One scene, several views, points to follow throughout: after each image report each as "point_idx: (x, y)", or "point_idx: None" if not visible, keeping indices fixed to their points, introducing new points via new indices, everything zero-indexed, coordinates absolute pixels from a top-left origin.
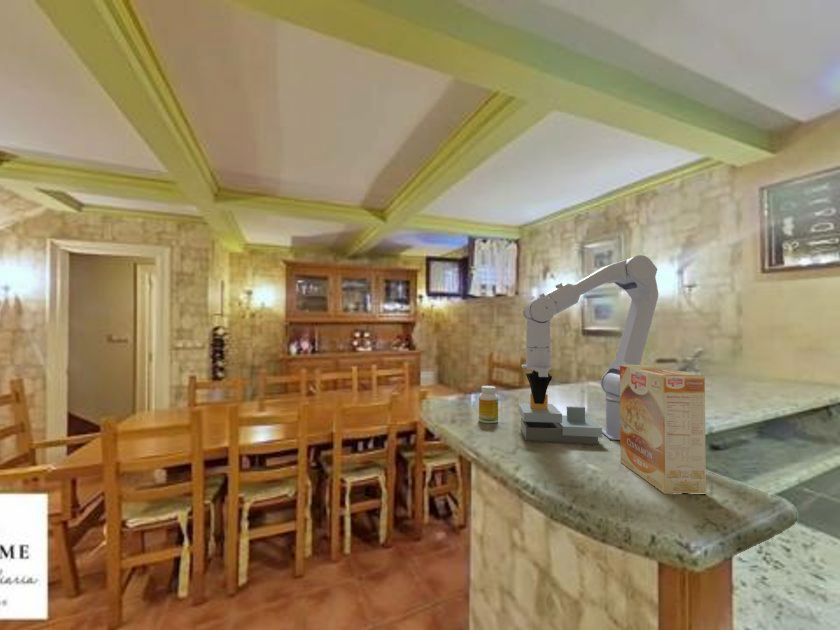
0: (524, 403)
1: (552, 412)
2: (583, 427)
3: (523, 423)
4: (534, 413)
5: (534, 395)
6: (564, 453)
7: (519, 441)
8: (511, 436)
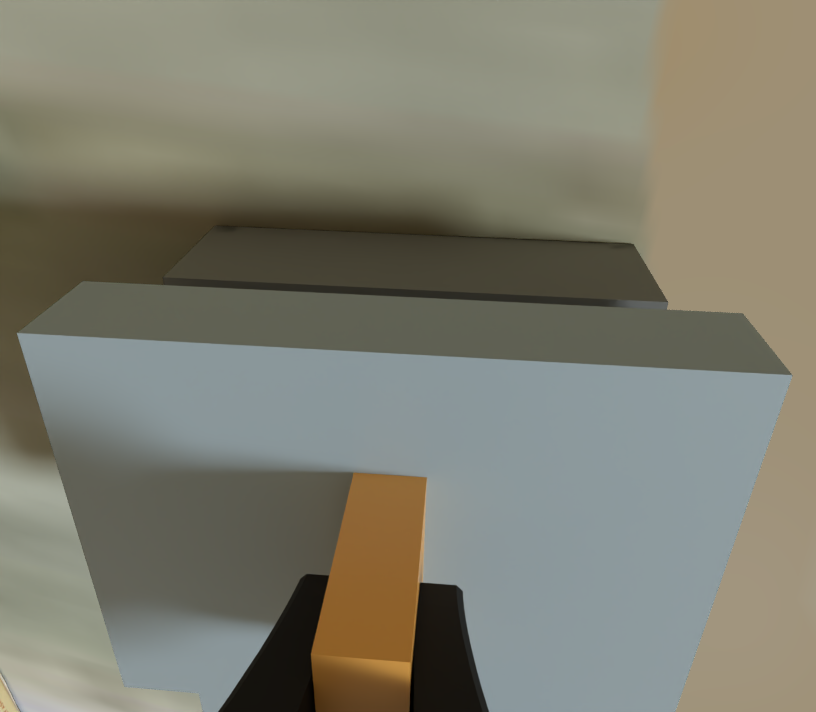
0: (732, 459)
1: (173, 634)
2: (201, 697)
3: (393, 284)
4: (56, 455)
5: (247, 683)
6: (7, 439)
7: (202, 162)
8: (366, 101)
